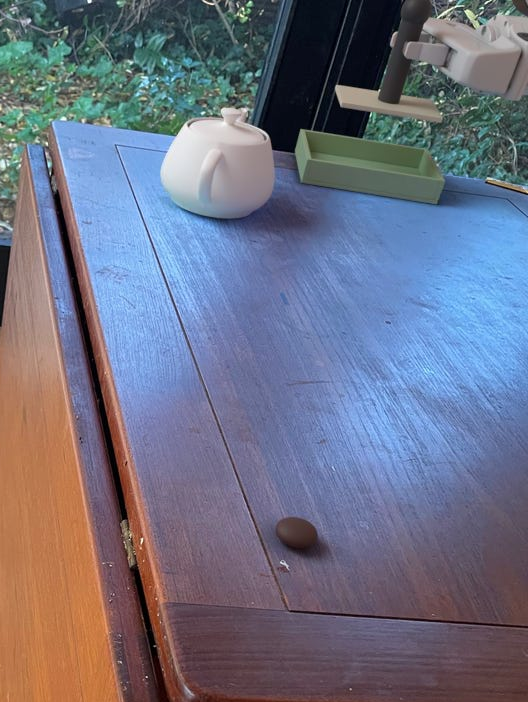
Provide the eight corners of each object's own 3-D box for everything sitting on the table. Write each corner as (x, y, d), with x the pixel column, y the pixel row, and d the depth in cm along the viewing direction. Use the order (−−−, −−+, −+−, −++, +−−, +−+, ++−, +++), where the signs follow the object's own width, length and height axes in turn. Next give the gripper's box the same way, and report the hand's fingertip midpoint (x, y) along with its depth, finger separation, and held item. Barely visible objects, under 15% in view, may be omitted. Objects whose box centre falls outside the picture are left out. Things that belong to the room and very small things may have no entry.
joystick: (430, 104, 134) (467, -5, 125) (441, 123, 127) (481, 9, 119) (334, 89, 134) (365, -21, 126) (340, 107, 127) (373, -8, 119)
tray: (420, 171, 142) (428, 149, 140) (436, 204, 132) (445, 181, 130) (294, 151, 143) (300, 128, 141) (301, 183, 132) (307, 159, 130)
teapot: (252, 245, 113) (277, 144, 106) (136, 218, 115) (153, 118, 108) (279, 190, 129) (303, 98, 122) (178, 167, 131) (195, 76, 124)
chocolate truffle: (266, 542, 70) (272, 524, 69) (281, 523, 72) (287, 505, 71) (305, 559, 69) (312, 541, 68) (320, 539, 71) (326, 521, 70)
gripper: (476, 9, 133) (379, -3, 131) (547, 47, 118) (439, 35, 116) (458, 62, 137) (363, 51, 135) (524, 105, 123) (419, 94, 121)
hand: (399, 44), depth 126 cm, fingers closed on joystick, 3 cm apart
